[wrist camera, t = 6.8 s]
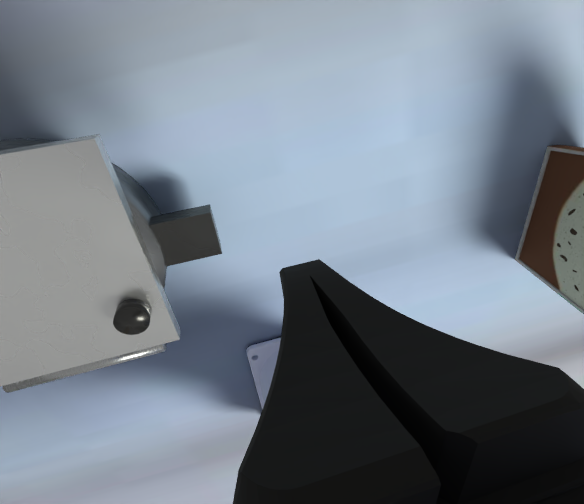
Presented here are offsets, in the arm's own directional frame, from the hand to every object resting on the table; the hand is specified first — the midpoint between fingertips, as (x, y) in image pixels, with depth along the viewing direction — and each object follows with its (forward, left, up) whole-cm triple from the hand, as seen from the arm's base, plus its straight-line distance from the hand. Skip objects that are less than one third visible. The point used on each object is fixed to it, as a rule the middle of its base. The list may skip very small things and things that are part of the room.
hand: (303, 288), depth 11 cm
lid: (-1, +11, -7) cm, 13 cm away
